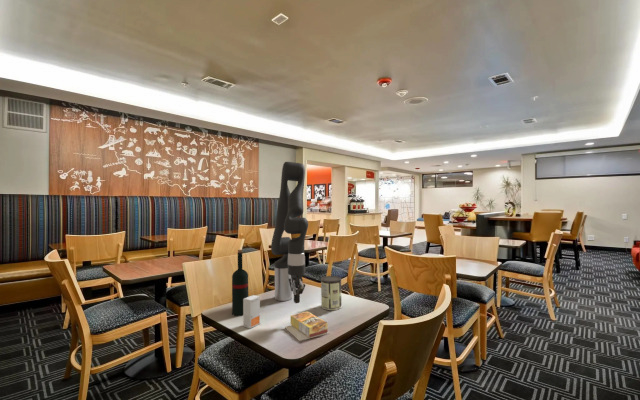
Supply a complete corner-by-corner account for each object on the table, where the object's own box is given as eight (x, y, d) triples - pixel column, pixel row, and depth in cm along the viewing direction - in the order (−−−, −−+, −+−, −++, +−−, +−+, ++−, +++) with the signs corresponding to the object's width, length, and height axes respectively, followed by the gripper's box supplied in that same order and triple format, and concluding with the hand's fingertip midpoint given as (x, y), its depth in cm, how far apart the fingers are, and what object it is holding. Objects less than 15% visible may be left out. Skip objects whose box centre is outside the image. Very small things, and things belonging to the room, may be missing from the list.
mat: (285, 327, 127) (285, 326, 127) (312, 321, 134) (312, 320, 134) (299, 341, 115) (299, 339, 115) (328, 333, 121) (328, 332, 121)
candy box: (307, 310, 134) (328, 321, 121) (307, 320, 134) (328, 332, 121) (289, 315, 129) (309, 327, 116) (290, 325, 129) (309, 338, 116)
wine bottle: (251, 308, 151) (251, 247, 151) (246, 315, 141) (245, 251, 141) (236, 308, 151) (235, 248, 151) (229, 316, 141) (229, 251, 141)
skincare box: (250, 329, 126) (250, 300, 126) (243, 326, 129) (242, 298, 129) (260, 323, 132) (260, 296, 132) (253, 321, 134) (253, 294, 134)
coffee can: (330, 301, 159) (330, 274, 159) (345, 306, 152) (345, 278, 152) (316, 307, 151) (316, 278, 151) (332, 312, 144) (332, 282, 144)
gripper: (311, 265, 129) (311, 305, 129) (297, 259, 140) (298, 296, 140) (294, 267, 125) (295, 309, 125) (282, 261, 136) (283, 299, 137)
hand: (296, 302), depth 133 cm, fingers closed
